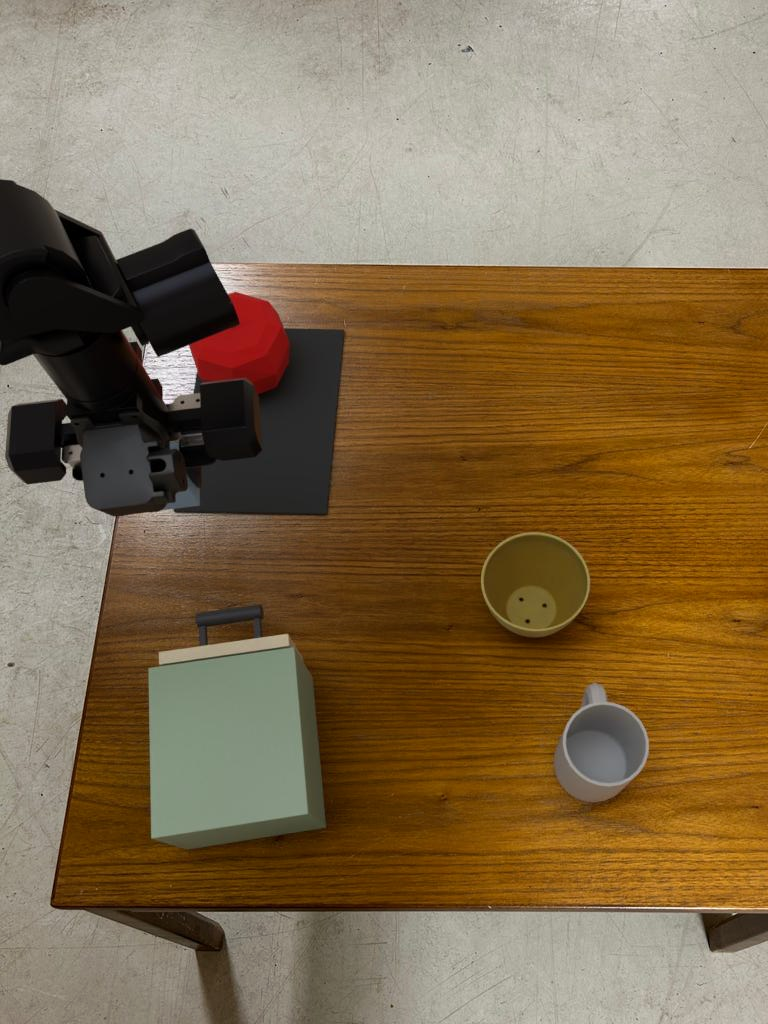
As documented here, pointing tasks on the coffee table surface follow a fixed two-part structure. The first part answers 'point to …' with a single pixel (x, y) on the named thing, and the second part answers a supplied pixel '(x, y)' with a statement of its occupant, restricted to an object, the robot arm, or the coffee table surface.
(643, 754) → the cup
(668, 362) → the coffee table surface
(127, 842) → the coffee table surface
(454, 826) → the coffee table surface
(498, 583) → the flower pot
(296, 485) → the mat
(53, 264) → the robot arm
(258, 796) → the cabinet
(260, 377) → the apple
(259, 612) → the drawer
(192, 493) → the block
